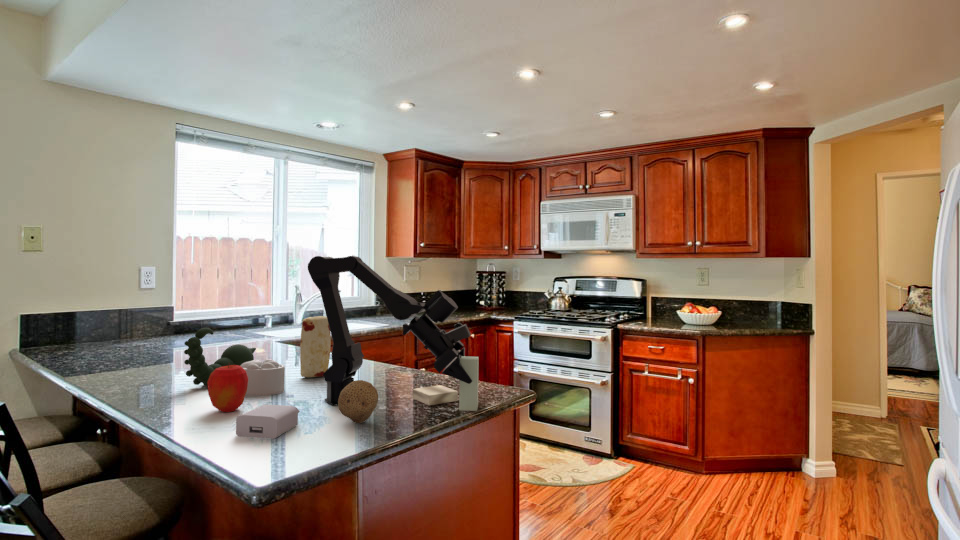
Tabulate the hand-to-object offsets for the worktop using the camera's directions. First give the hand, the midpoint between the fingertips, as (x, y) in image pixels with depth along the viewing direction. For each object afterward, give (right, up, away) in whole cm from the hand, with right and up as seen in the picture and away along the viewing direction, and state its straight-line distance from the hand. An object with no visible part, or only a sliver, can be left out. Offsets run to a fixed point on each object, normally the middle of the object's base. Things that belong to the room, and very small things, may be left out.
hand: (472, 378), depth 131 cm
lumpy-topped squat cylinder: (-61, -7, +15) cm, 63 cm away
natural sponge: (-26, -7, -15) cm, 31 cm away
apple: (-60, -7, -5) cm, 61 cm away
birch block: (-10, -8, +9) cm, 16 cm away
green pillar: (-1, -8, 0) cm, 8 cm away
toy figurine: (-77, -7, +25) cm, 81 cm away
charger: (-44, -7, -18) cm, 48 cm away
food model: (-52, -7, +35) cm, 64 cm away
